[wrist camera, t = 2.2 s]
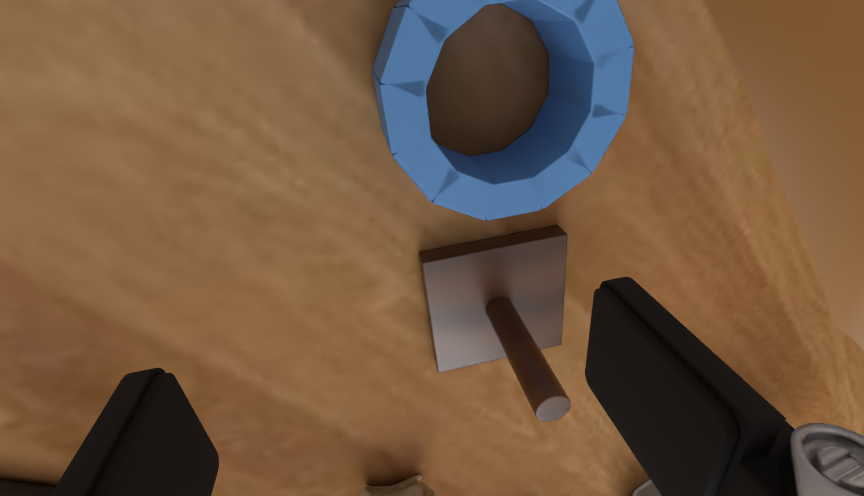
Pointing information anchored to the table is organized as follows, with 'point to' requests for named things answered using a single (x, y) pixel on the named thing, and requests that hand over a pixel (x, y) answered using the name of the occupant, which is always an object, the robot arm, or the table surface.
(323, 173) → the table surface
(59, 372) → the table surface
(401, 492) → the bone
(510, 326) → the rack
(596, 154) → the tape
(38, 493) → the hardcover book
